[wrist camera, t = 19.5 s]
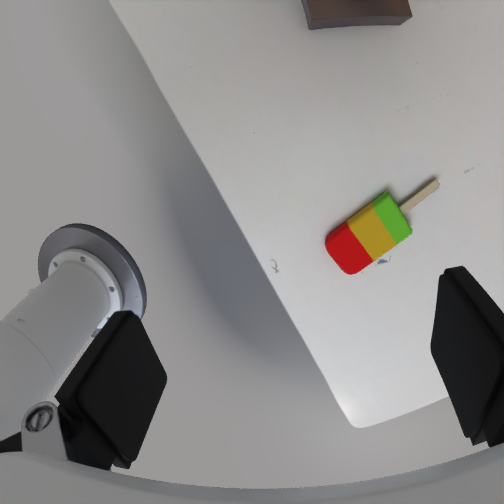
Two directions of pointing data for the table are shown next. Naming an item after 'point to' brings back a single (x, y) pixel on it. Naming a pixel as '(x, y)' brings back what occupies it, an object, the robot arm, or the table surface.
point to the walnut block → (355, 12)
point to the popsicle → (373, 231)
